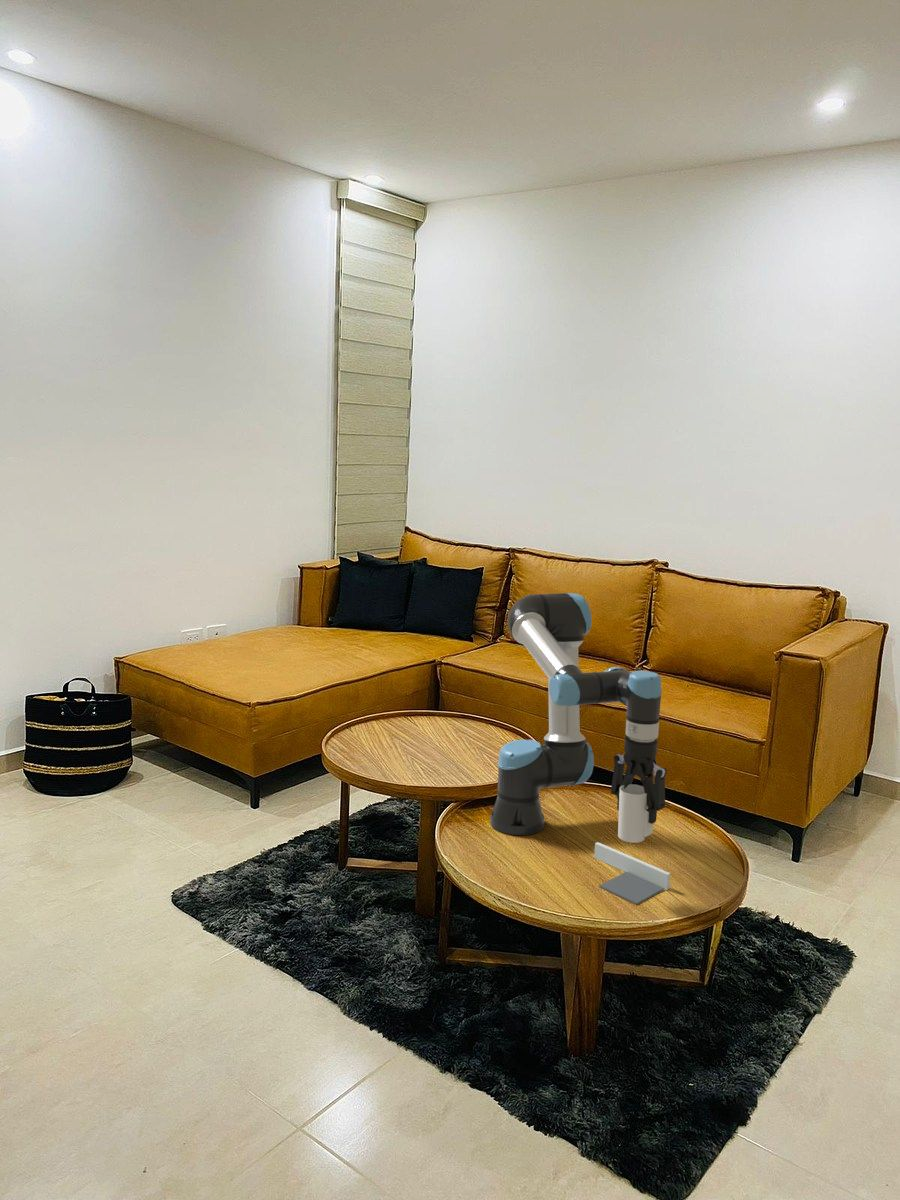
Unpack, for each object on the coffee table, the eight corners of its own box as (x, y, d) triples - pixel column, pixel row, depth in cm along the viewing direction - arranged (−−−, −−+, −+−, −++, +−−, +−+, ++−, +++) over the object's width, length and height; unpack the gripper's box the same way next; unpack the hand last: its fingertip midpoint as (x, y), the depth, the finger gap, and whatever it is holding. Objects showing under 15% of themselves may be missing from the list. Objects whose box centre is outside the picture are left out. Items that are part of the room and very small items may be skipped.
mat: (599, 887, 216) (599, 885, 216) (626, 873, 224) (626, 871, 224) (636, 904, 208) (636, 903, 208) (663, 889, 216) (663, 888, 216)
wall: (594, 857, 232) (595, 843, 231) (597, 856, 232) (597, 842, 232) (666, 890, 216) (667, 874, 215) (669, 888, 216) (670, 873, 216)
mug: (635, 846, 208) (639, 797, 206) (611, 837, 212) (614, 789, 210) (657, 833, 215) (661, 786, 213) (633, 824, 220) (636, 778, 218)
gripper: (598, 730, 214) (593, 820, 218) (667, 751, 200) (660, 848, 204) (617, 724, 219) (612, 812, 223) (686, 744, 205) (679, 839, 209)
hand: (635, 829), depth 213 cm, fingers closed on mug, 6 cm apart
